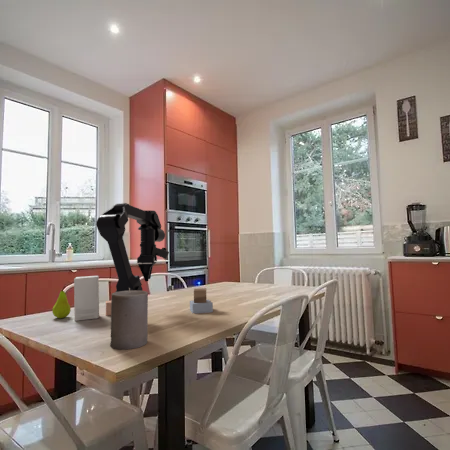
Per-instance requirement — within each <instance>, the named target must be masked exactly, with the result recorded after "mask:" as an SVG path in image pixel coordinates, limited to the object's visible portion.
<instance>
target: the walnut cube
mask: <svg viewBox="0 0 450 450" xmlns="http://www.w3.org/2000/svg"><path fill="white" fill-rule="evenodd" d="M207 300H208V299H207V288H206V287H205V288H203V287H202V288H193V301H194V303H206V301H207Z"/></svg>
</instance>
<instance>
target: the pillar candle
mask: <svg viewBox="0 0 450 450" xmlns="http://www.w3.org/2000/svg"><path fill="white" fill-rule="evenodd" d="M110 301H111V315H110V344H109V347H110V348H112V349H115V350H132V349H137V348H140V347H144V346H145V345H148V344H147V343H148V327H149V326H148V323H149V322H148V317H149V316H148V311H149V309H148V307H149V306H148V304H149V303H148V301H149V292H148V291H146V290H143V291H137V290H134V291H133V290H132V291H130V288H129V291H119V292H116V291H115V292H113V293H111V300H110Z"/></svg>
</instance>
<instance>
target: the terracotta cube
mask: <svg viewBox="0 0 450 450" xmlns="http://www.w3.org/2000/svg"><path fill="white" fill-rule="evenodd" d="M104 313H105V317H107V316H111V300H105V312H104Z"/></svg>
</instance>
